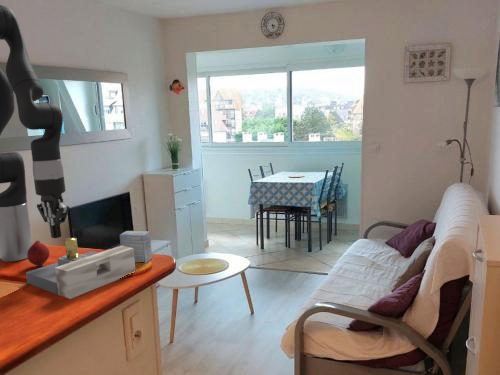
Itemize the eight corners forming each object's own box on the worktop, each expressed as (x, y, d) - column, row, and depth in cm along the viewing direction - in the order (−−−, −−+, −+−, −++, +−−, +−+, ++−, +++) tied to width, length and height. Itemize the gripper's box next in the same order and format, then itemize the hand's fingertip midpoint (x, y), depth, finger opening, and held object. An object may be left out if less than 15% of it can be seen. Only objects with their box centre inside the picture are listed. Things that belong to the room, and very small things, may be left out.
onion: (41, 270, 121) (38, 243, 120) (24, 269, 122) (20, 243, 121) (54, 263, 127) (51, 237, 126) (38, 262, 128) (34, 237, 127)
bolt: (62, 263, 116) (59, 239, 115) (71, 260, 119) (69, 236, 118) (86, 270, 110) (83, 244, 109) (95, 267, 113) (93, 241, 111)
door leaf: (27, 283, 112) (24, 264, 111) (92, 260, 128) (91, 244, 127) (57, 294, 104) (54, 274, 103) (122, 268, 120) (121, 251, 119)
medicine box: (152, 258, 128) (150, 231, 127) (146, 263, 124) (143, 235, 122) (128, 257, 130) (126, 230, 128) (121, 262, 125) (119, 234, 124)
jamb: (58, 294, 104) (54, 267, 102) (123, 269, 120) (121, 245, 119) (69, 299, 101) (66, 271, 100) (135, 272, 117) (133, 248, 116)
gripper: (22, 177, 117) (31, 238, 119) (49, 179, 109) (57, 244, 112) (48, 174, 123) (56, 231, 125) (75, 175, 115) (82, 237, 118)
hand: (56, 237), depth 118 cm, fingers closed
